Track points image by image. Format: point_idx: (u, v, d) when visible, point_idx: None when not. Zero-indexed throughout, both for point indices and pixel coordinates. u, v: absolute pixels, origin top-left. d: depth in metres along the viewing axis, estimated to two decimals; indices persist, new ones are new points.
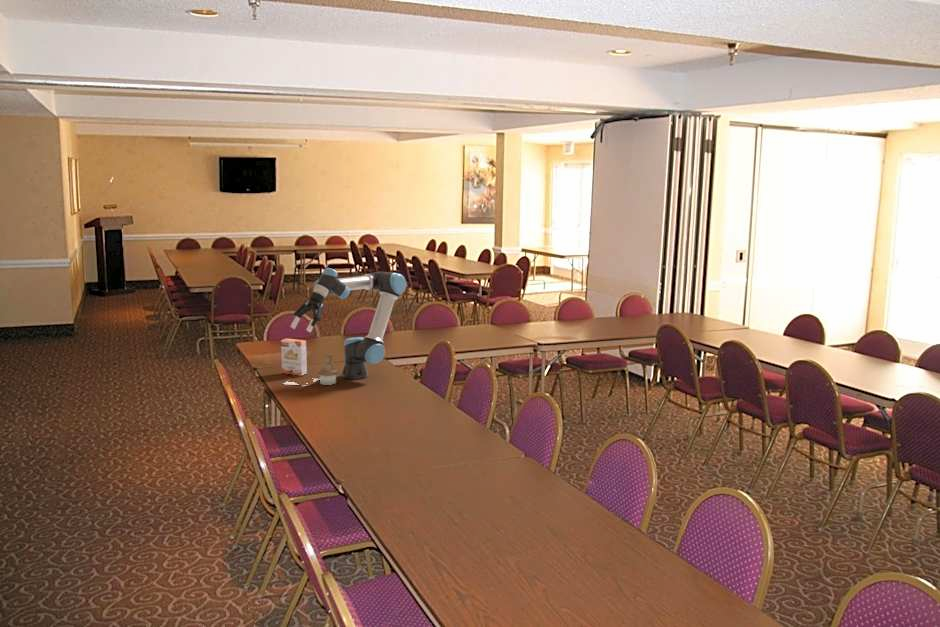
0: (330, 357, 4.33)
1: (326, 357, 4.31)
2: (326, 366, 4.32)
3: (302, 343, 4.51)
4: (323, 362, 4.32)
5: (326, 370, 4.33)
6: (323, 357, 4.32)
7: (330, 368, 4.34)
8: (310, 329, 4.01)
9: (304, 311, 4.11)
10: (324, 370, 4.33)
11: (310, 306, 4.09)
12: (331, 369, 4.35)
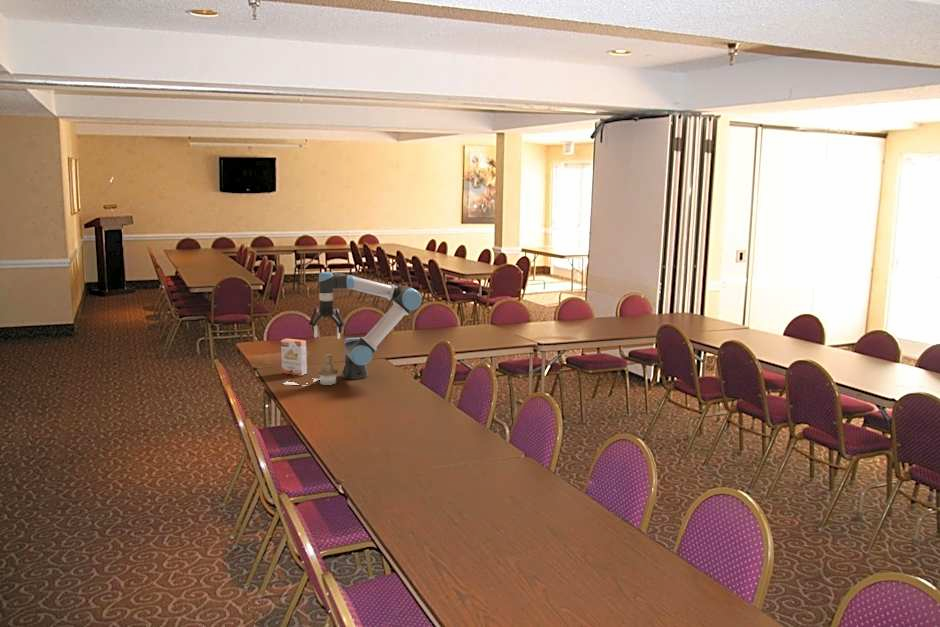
0: (330, 357, 4.33)
1: (326, 357, 4.31)
2: (326, 366, 4.32)
3: (302, 343, 4.51)
4: (323, 362, 4.32)
5: (326, 370, 4.33)
6: (323, 357, 4.32)
7: (330, 368, 4.34)
8: (339, 335, 4.31)
9: (319, 319, 4.32)
10: (324, 370, 4.33)
11: (325, 314, 4.29)
12: (331, 369, 4.35)
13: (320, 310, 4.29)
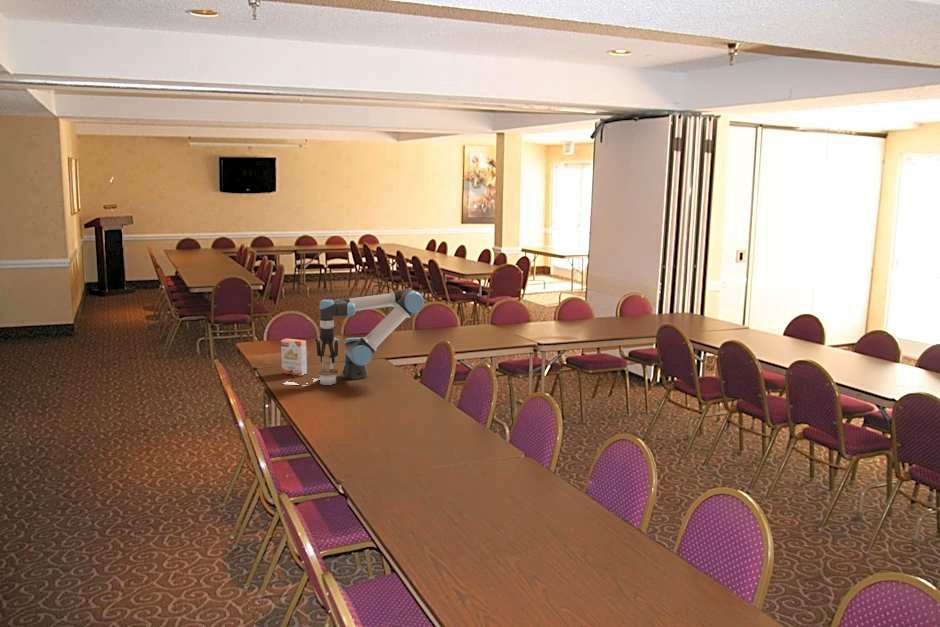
0: (330, 357, 4.33)
1: (326, 357, 4.31)
2: (326, 366, 4.32)
3: (302, 343, 4.51)
4: (323, 362, 4.32)
5: (326, 370, 4.33)
6: (323, 357, 4.32)
7: None
8: (332, 366, 4.35)
9: (324, 348, 4.34)
10: (324, 370, 4.33)
11: (326, 341, 4.32)
12: (331, 369, 4.35)
13: (321, 337, 4.32)
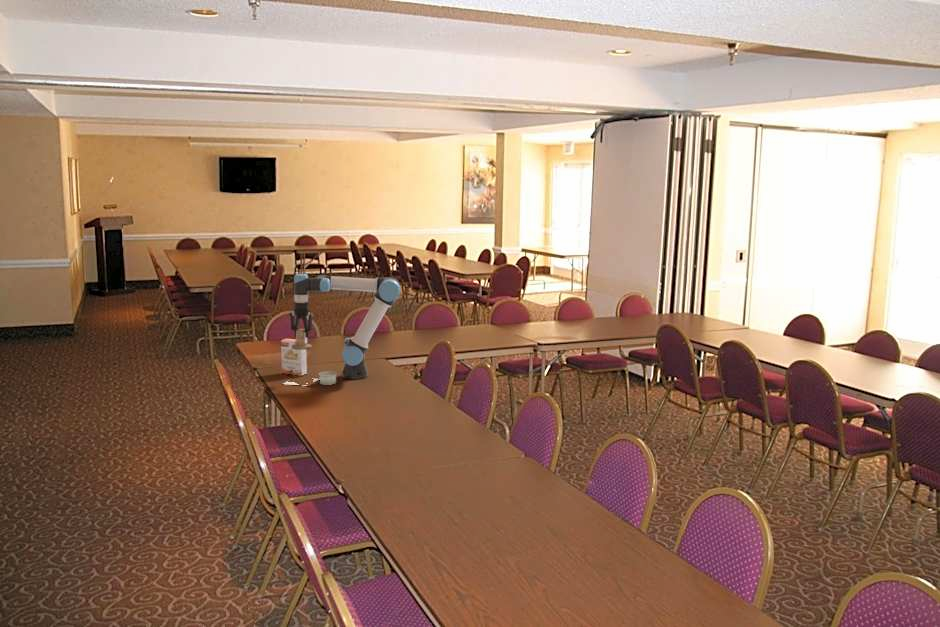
0: (304, 331, 4.34)
1: (300, 331, 4.32)
2: (300, 341, 4.33)
3: None
4: (297, 336, 4.33)
5: (300, 344, 4.34)
6: (297, 331, 4.33)
7: None
8: (306, 340, 4.36)
9: (298, 322, 4.35)
10: (298, 344, 4.34)
11: (300, 315, 4.33)
12: None
13: (295, 312, 4.33)
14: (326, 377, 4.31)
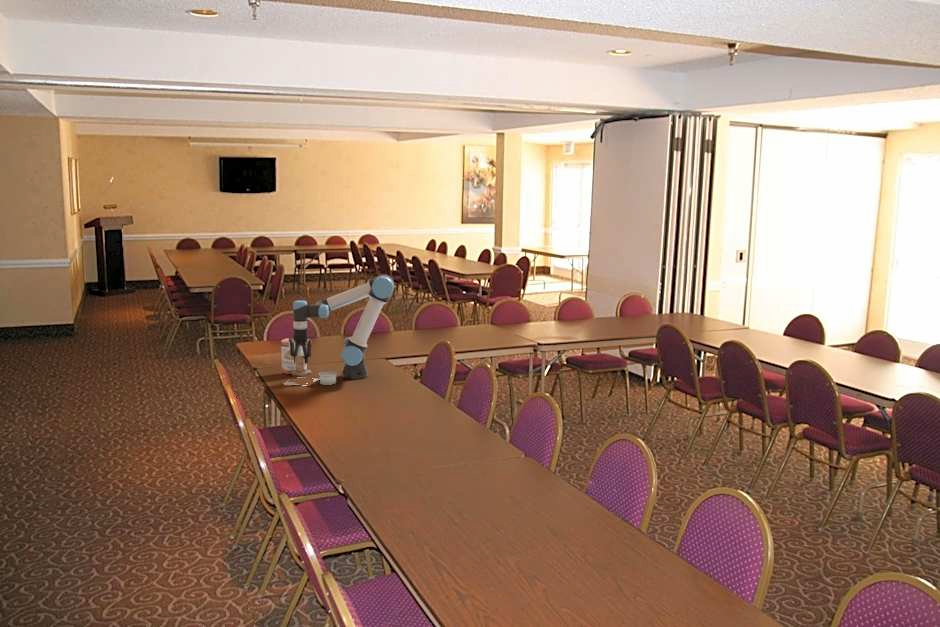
0: (303, 357, 4.37)
1: (299, 357, 4.35)
2: (300, 367, 4.36)
3: None
4: (296, 362, 4.36)
5: (299, 370, 4.36)
6: (296, 357, 4.35)
7: None
8: (305, 366, 4.38)
9: (297, 348, 4.38)
10: (297, 370, 4.37)
11: (299, 342, 4.35)
12: None
13: (294, 338, 4.36)
14: (326, 377, 4.31)
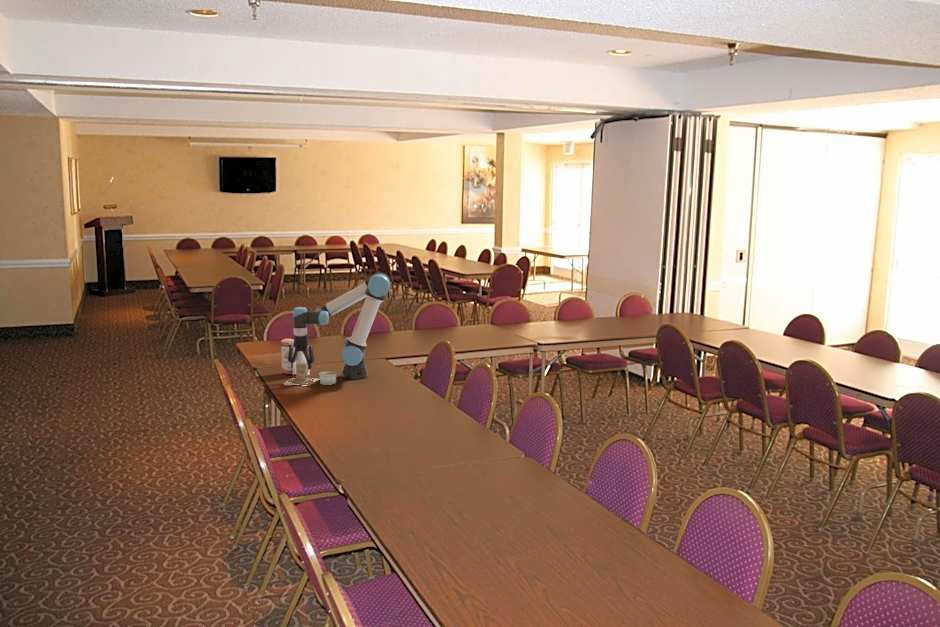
0: (304, 366, 4.37)
1: (300, 366, 4.36)
2: (300, 375, 4.37)
3: None
4: (297, 371, 4.37)
5: (300, 378, 4.37)
6: (297, 366, 4.36)
7: (304, 376, 4.38)
8: (309, 372, 4.38)
9: (296, 354, 4.38)
10: (298, 378, 4.37)
11: (299, 348, 4.36)
12: (305, 377, 4.40)
13: (294, 344, 4.36)
14: (326, 377, 4.31)
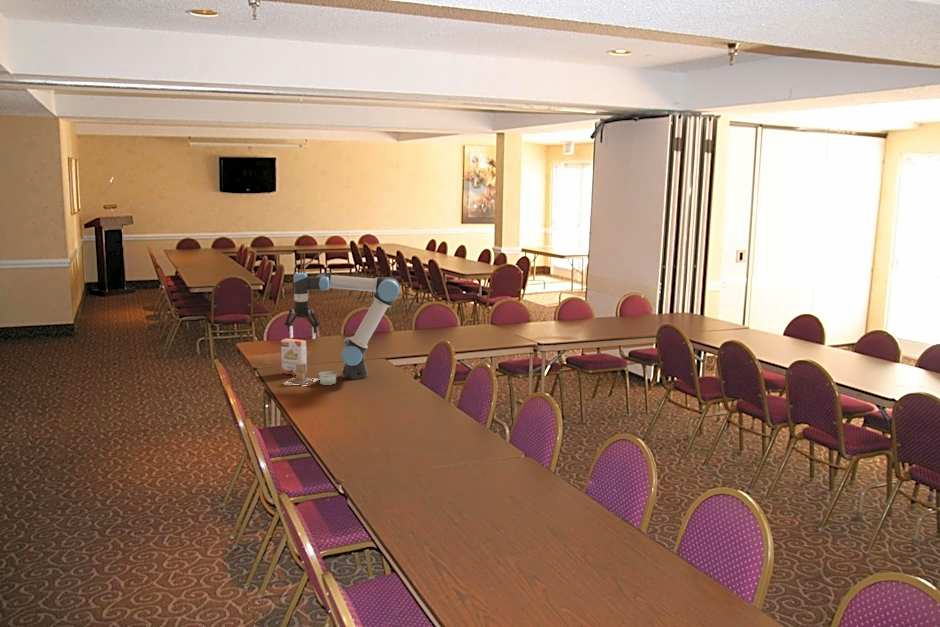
0: (304, 366, 4.37)
1: (300, 366, 4.36)
2: (300, 375, 4.37)
3: (302, 343, 4.51)
4: (297, 371, 4.37)
5: (300, 378, 4.37)
6: (297, 366, 4.36)
7: (304, 376, 4.38)
8: (314, 336, 4.35)
9: (295, 319, 4.36)
10: (298, 378, 4.37)
11: (300, 315, 4.33)
12: (305, 377, 4.40)
13: (295, 311, 4.33)
14: (326, 377, 4.31)
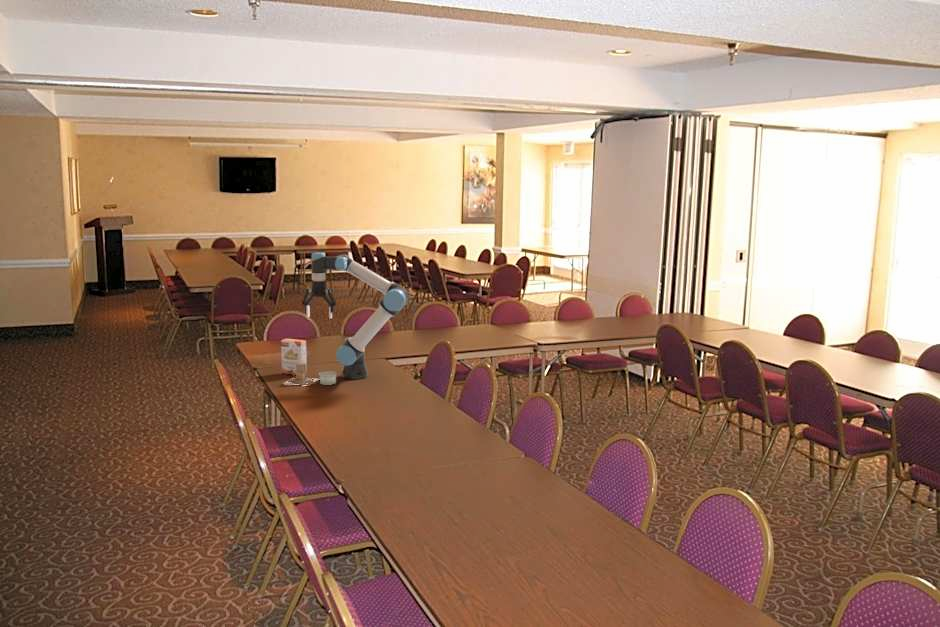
0: (304, 366, 4.37)
1: (300, 366, 4.36)
2: (300, 375, 4.37)
3: (302, 343, 4.51)
4: (297, 371, 4.37)
5: (300, 378, 4.37)
6: (297, 366, 4.36)
7: (304, 376, 4.38)
8: (331, 315, 4.37)
9: None
10: (298, 378, 4.37)
11: (317, 294, 4.35)
12: (305, 377, 4.40)
13: (312, 290, 4.35)
14: (326, 377, 4.31)
